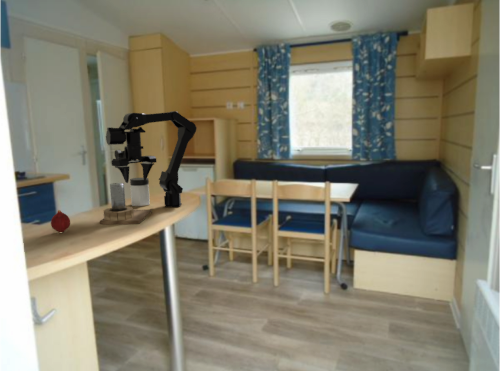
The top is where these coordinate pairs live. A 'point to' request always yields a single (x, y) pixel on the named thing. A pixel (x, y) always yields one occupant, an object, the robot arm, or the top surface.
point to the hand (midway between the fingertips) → (136, 181)
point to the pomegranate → (60, 222)
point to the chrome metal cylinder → (117, 197)
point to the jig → (125, 216)
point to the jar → (139, 191)
